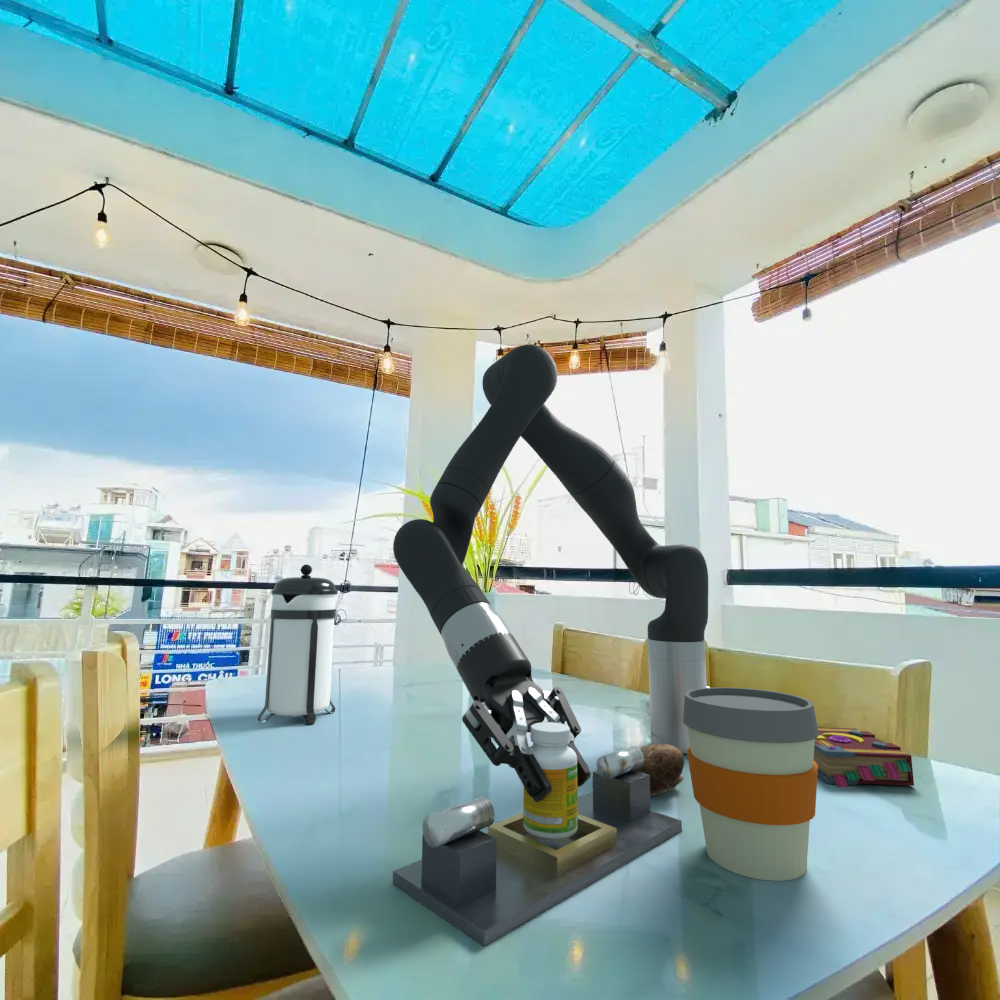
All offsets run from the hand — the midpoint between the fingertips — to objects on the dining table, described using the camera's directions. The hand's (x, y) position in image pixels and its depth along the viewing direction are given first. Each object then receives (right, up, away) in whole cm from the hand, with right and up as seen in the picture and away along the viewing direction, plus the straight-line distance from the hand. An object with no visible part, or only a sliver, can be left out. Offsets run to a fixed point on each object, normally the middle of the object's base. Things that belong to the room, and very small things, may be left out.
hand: (564, 788), depth 55 cm
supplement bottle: (-1, -5, +1) cm, 5 cm away
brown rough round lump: (+14, -10, +18) cm, 24 cm away
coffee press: (-47, -15, +57) cm, 75 cm away
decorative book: (+44, -11, +27) cm, 53 cm away
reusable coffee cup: (+19, -7, 0) cm, 20 cm away
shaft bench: (-1, -7, 0) cm, 7 cm away
